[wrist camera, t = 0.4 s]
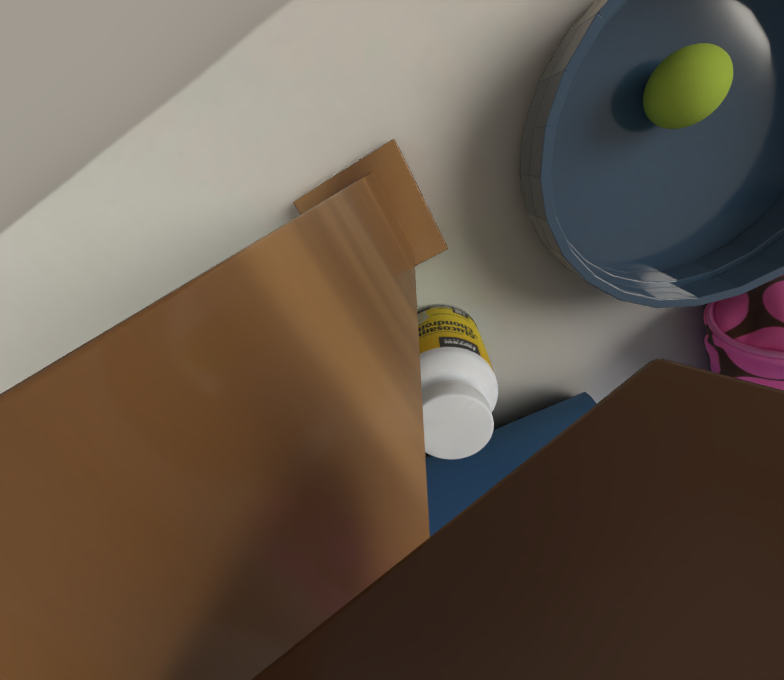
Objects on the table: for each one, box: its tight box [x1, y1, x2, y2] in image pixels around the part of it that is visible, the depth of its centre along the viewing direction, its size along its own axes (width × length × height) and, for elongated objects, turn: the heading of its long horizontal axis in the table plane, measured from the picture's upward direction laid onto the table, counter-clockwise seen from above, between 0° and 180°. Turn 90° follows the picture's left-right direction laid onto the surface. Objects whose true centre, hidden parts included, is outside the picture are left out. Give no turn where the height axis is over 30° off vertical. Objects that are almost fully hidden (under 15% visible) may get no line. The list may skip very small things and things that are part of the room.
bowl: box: [520, 0, 784, 308], centre depth 23 cm, size 19×19×5 cm
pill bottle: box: [417, 304, 498, 459], centre depth 27 cm, size 6×6×12 cm
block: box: [426, 392, 596, 537], centre depth 30 cm, size 18×18×18 cm
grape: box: [643, 43, 733, 129], centre depth 21 cm, size 4×4×4 cm
